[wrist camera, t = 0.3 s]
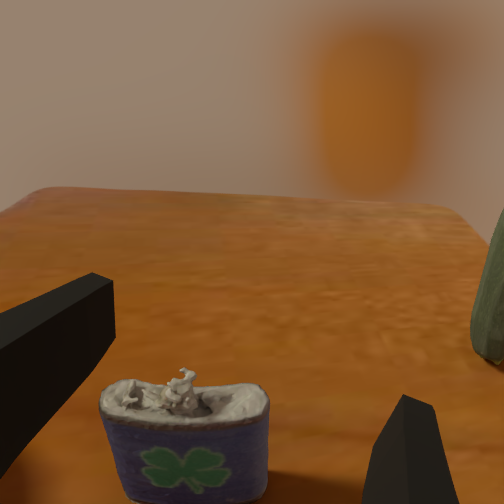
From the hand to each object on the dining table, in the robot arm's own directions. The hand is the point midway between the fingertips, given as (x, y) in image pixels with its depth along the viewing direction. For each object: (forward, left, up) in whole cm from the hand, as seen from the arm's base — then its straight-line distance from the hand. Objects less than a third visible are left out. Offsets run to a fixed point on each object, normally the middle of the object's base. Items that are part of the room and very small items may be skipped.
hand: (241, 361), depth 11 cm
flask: (+5, +6, -21) cm, 22 cm away
